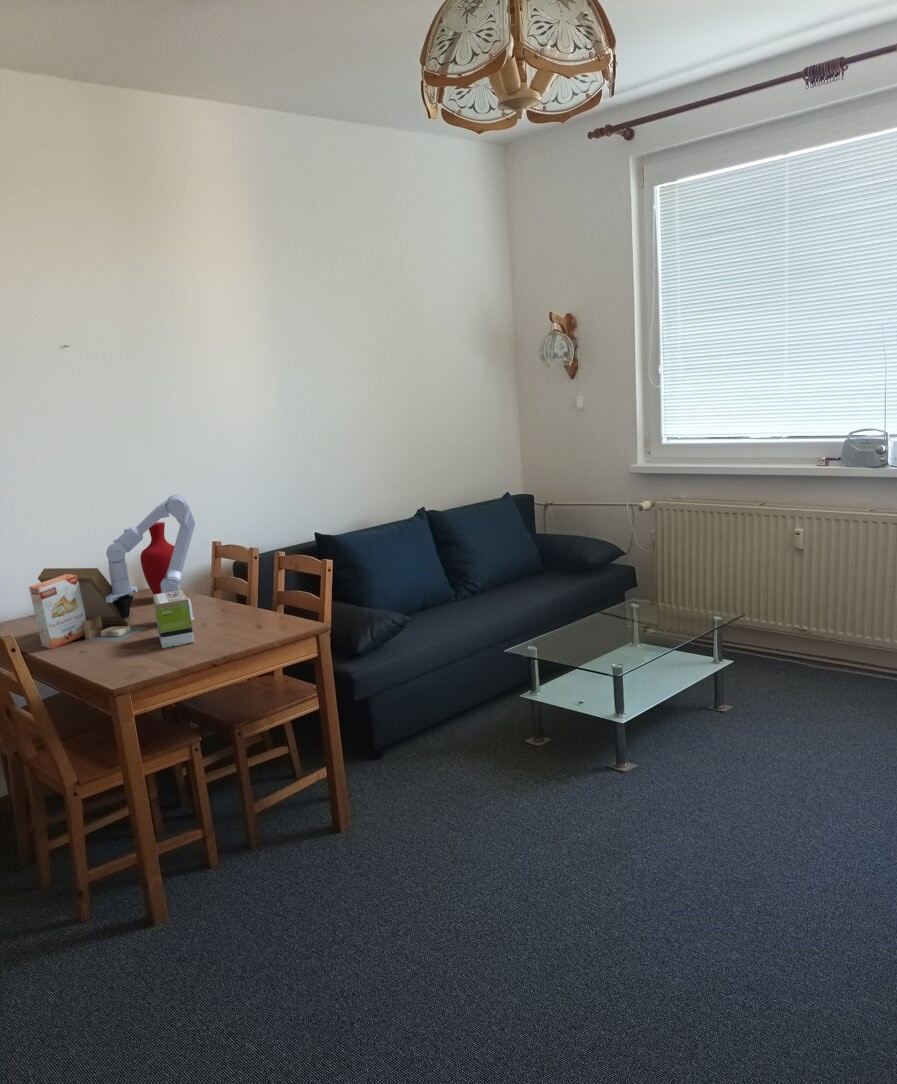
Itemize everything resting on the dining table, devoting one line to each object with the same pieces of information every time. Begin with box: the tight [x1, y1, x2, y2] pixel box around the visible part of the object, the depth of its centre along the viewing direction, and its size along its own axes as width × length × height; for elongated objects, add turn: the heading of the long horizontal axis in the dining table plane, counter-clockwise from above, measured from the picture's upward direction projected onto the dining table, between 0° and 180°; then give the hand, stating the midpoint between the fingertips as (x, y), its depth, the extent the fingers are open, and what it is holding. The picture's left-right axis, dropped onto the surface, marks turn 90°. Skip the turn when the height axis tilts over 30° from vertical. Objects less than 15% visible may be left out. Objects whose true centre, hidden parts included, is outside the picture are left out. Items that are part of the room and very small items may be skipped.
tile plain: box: [83, 616, 104, 640], centre depth 282 cm, size 7×2×6 cm, turn 165°
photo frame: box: [37, 567, 135, 625], centre depth 292 cm, size 15×22×25 cm
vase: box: [140, 521, 175, 595], centre depth 329 cm, size 15×15×30 cm
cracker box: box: [28, 574, 86, 650], centre depth 276 cm, size 14×6×21 cm, turn 148°
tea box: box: [152, 589, 195, 649], centre depth 271 cm, size 15×10×15 cm
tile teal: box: [100, 625, 131, 636], centre depth 284 cm, size 7×2×6 cm
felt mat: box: [82, 626, 149, 643], centre depth 284 cm, size 14×16×1 cm
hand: (125, 617), depth 289 cm, fingers closed
